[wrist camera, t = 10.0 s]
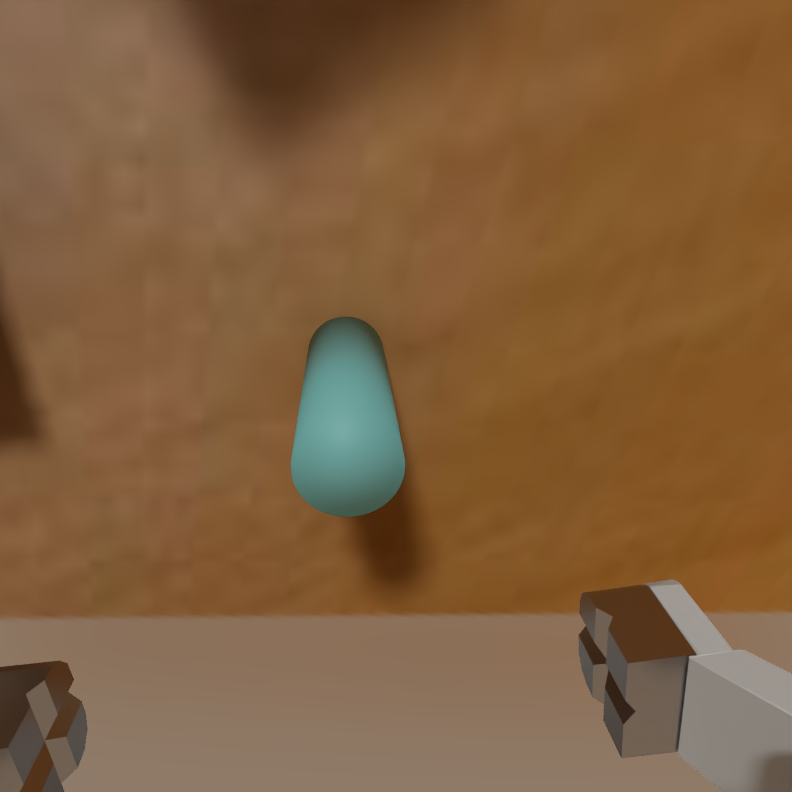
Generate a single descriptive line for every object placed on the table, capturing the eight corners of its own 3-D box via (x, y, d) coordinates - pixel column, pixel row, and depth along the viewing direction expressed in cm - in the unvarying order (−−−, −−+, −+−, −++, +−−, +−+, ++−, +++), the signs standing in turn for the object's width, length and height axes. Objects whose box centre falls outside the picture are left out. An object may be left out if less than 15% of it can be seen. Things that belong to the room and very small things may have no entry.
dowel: (379, 313, 24) (400, 409, 15) (386, 384, 25) (409, 510, 16) (303, 320, 24) (282, 422, 15) (313, 391, 25) (299, 522, 16)
